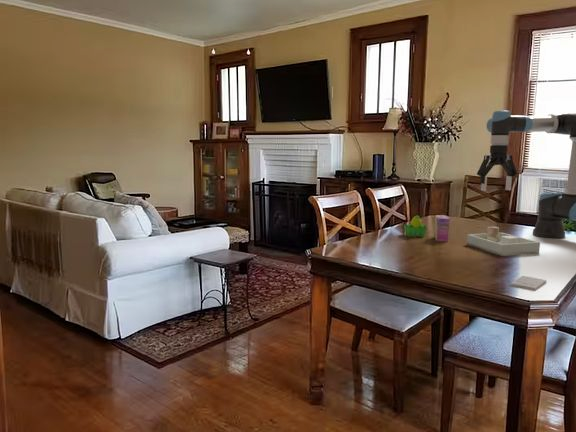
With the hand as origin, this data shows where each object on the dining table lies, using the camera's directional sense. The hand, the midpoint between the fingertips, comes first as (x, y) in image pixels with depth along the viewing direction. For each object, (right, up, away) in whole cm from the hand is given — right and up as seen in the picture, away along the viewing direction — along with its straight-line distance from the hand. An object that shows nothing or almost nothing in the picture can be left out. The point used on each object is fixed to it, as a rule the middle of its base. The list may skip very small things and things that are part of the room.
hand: (495, 190), depth 218 cm
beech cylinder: (0, -25, +4) cm, 26 cm away
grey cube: (+3, -27, -7) cm, 28 cm away
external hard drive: (-14, -37, -57) cm, 69 cm away
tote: (+2, -27, -2) cm, 27 cm away
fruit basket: (-30, -23, +28) cm, 47 cm away
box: (-20, -24, +19) cm, 37 cm away
